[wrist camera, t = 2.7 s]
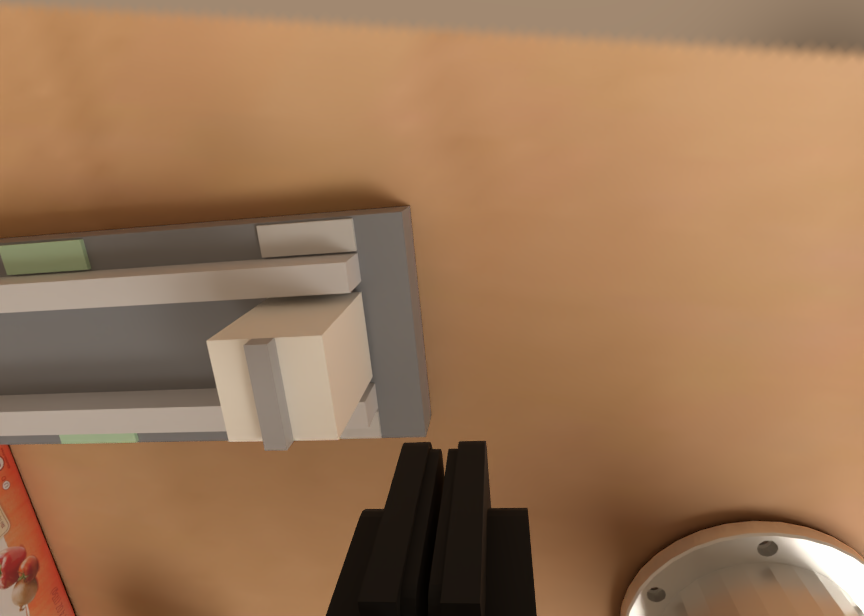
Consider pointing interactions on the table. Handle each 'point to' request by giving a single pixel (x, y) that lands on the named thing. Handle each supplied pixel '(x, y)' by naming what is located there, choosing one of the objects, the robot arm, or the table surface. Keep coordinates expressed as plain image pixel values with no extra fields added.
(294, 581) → the table surface
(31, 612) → the cracker box
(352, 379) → the switch tab
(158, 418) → the switch panel
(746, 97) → the table surface
